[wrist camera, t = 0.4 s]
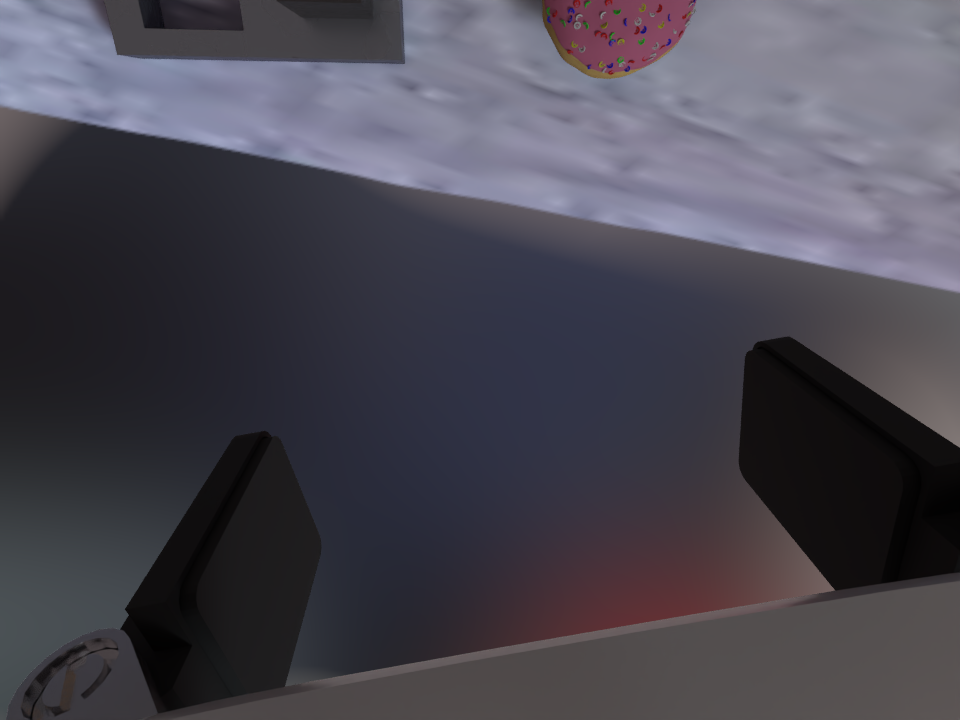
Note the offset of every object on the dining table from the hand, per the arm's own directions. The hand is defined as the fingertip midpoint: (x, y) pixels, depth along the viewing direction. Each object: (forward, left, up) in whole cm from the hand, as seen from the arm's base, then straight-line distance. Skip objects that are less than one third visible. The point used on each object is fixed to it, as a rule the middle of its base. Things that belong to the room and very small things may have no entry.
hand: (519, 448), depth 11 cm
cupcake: (-12, +8, -30) cm, 33 cm away
